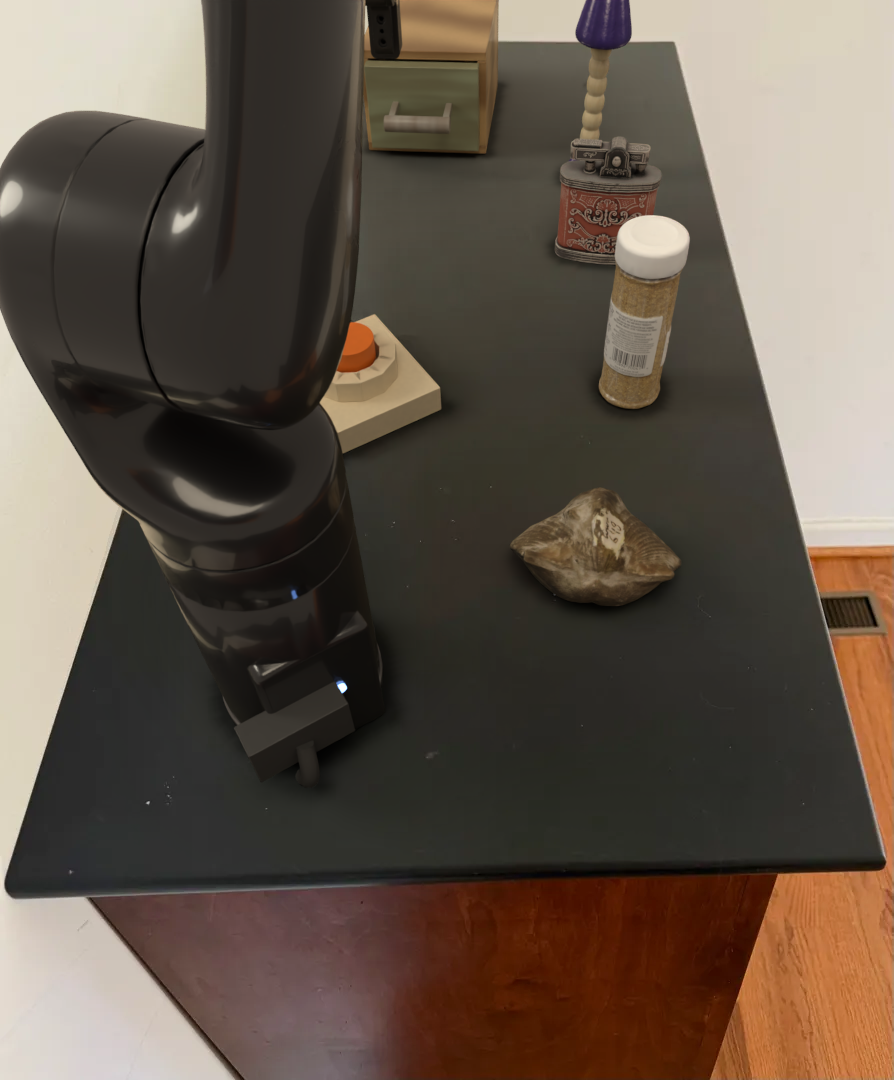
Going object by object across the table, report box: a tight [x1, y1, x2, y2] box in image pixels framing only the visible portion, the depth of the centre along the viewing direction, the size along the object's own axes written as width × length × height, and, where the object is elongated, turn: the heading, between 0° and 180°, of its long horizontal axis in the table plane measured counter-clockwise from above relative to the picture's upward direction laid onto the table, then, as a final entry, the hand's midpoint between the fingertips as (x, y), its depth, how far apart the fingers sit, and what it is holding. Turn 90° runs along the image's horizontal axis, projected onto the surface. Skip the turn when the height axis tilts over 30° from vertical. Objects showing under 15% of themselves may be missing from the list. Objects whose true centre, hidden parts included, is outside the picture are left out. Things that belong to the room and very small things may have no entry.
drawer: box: [364, 59, 480, 151], centre depth 87 cm, size 17×10×8 cm, turn 173°
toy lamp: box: [568, 0, 633, 161], centre depth 79 cm, size 5×5×17 cm
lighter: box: [554, 136, 663, 265], centre depth 74 cm, size 8×3×10 cm, turn 80°
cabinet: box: [363, 0, 500, 154], centre depth 90 cm, size 14×12×10 cm
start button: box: [337, 321, 376, 373], centre depth 65 cm, size 4×4×2 cm
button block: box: [320, 313, 442, 454], centre depth 67 cm, size 10×9×4 cm
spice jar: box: [598, 214, 691, 410], centre depth 62 cm, size 5×5×14 cm
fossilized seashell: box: [509, 486, 682, 607], centre depth 56 cm, size 8×7×10 cm
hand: (387, 54), depth 69 cm, fingers closed
